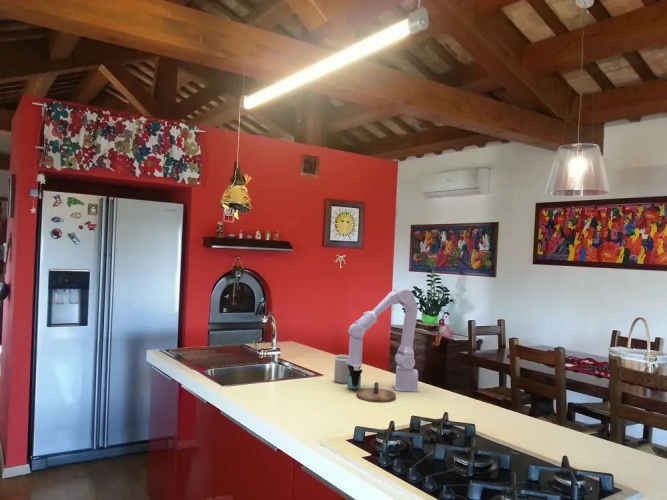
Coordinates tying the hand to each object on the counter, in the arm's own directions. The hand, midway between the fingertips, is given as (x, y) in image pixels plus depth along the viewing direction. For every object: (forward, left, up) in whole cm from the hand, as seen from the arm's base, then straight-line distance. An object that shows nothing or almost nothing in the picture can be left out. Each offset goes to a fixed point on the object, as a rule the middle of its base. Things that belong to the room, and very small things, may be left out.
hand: (354, 383), depth 228 cm
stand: (-8, +11, -2) cm, 14 cm away
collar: (0, 0, -1) cm, 1 cm away
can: (+4, -12, -3) cm, 13 cm away
